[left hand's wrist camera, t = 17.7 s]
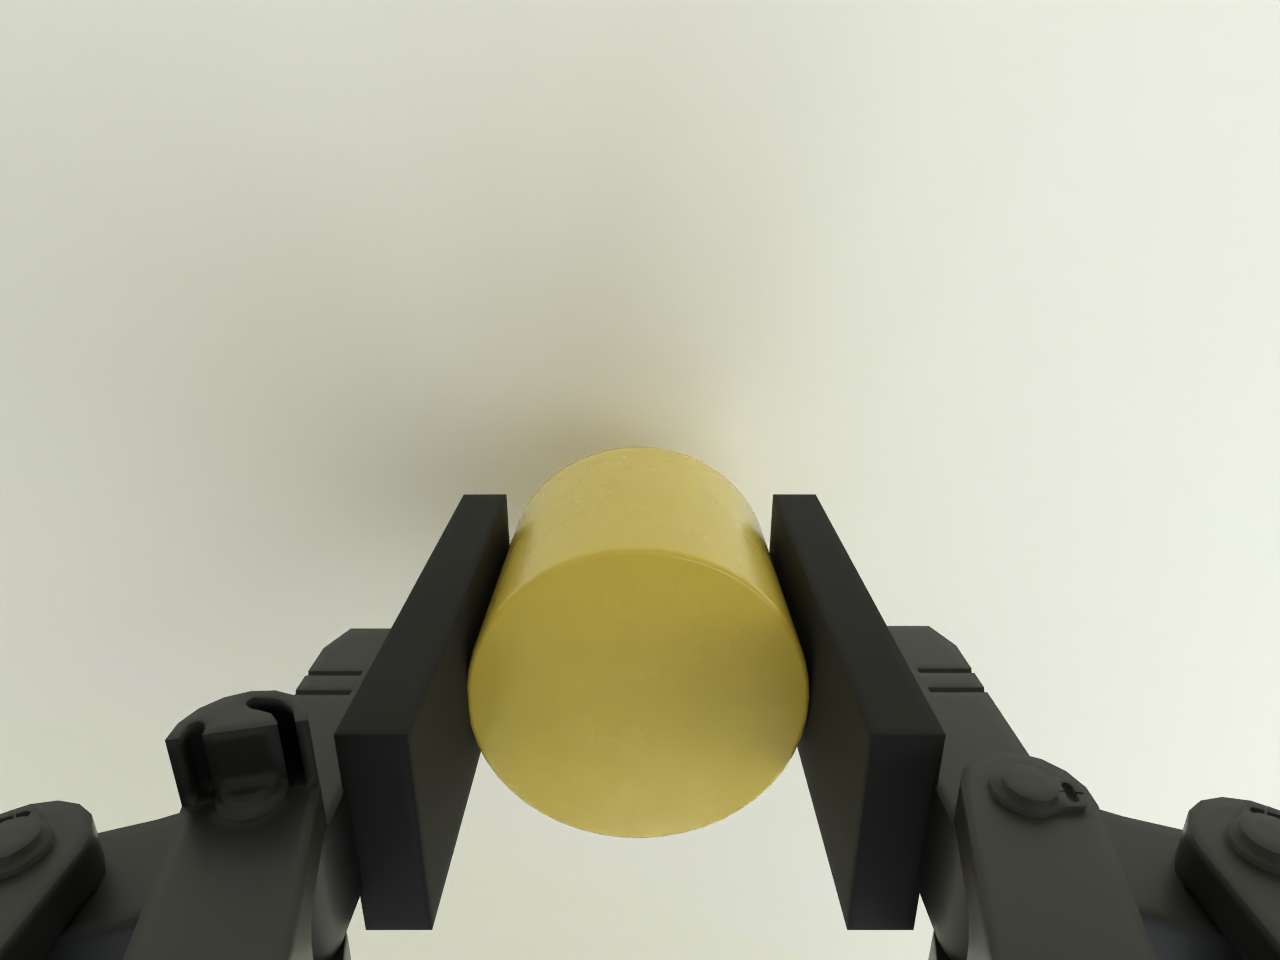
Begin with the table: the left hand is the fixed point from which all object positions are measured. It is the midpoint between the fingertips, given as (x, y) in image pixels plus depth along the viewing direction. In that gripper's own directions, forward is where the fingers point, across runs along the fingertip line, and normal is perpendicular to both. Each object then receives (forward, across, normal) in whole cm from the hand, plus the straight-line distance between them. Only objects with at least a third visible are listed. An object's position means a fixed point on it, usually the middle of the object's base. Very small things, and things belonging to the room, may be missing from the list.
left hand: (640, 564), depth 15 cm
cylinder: (0, 0, 0) cm, 0 cm away
